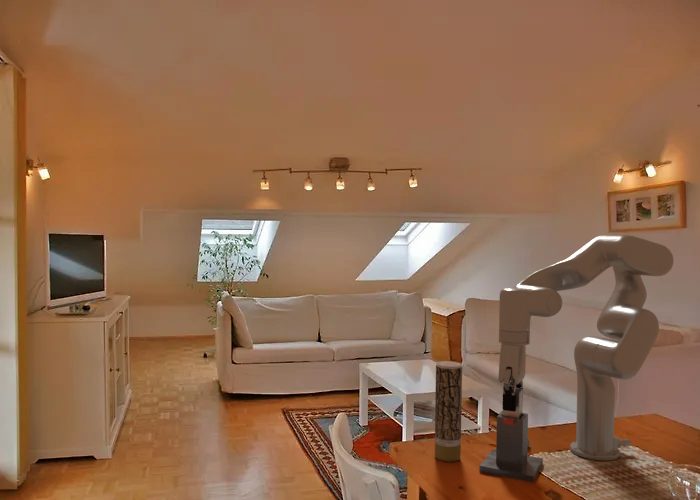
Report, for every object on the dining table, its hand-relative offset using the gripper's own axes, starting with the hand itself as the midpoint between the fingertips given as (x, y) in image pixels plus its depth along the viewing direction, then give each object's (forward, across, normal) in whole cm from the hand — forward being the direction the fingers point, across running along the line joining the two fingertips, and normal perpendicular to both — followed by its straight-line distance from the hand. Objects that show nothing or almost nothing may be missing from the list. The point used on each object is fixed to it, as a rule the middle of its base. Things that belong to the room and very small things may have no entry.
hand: (512, 405), depth 148 cm
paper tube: (+16, +2, -16) cm, 23 cm away
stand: (+16, 0, 0) cm, 16 cm away
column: (+14, 0, 0) cm, 14 cm away
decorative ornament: (+16, -19, -2) cm, 25 cm away
